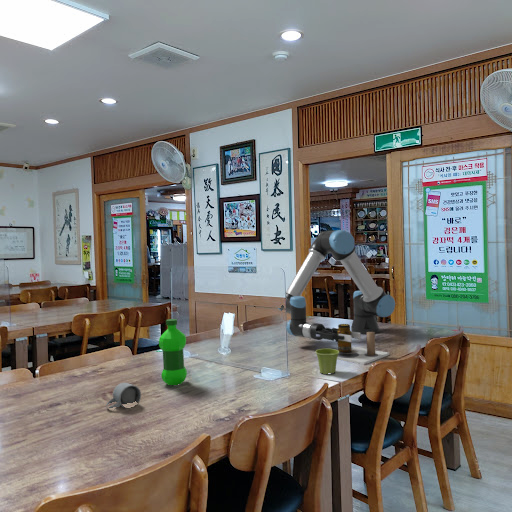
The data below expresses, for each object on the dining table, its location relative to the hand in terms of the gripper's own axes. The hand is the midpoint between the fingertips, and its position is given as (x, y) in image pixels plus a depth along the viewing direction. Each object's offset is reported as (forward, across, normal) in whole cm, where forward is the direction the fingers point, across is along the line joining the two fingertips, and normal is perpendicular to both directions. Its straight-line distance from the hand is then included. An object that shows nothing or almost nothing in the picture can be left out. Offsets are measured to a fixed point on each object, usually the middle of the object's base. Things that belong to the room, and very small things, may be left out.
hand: (355, 337), depth 207 cm
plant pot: (+3, +24, -10) cm, 26 cm away
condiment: (-5, 0, -7) cm, 9 cm away
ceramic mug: (-28, +97, -10) cm, 102 cm away
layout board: (-1, -4, -10) cm, 10 cm away
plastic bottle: (-34, +72, -10) cm, 80 cm away
